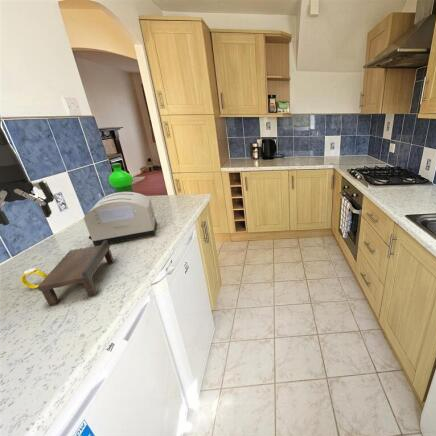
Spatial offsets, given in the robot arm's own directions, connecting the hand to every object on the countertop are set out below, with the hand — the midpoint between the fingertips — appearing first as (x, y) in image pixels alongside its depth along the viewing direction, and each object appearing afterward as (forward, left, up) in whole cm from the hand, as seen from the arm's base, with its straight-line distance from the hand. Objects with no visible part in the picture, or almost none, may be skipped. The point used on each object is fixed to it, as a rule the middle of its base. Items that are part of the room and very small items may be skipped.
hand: (28, 220), depth 69 cm
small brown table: (+9, -5, -20) cm, 23 cm away
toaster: (+14, +31, -21) cm, 40 cm away
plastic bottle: (+8, +63, -21) cm, 67 cm away
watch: (-4, -3, -21) cm, 21 cm away
